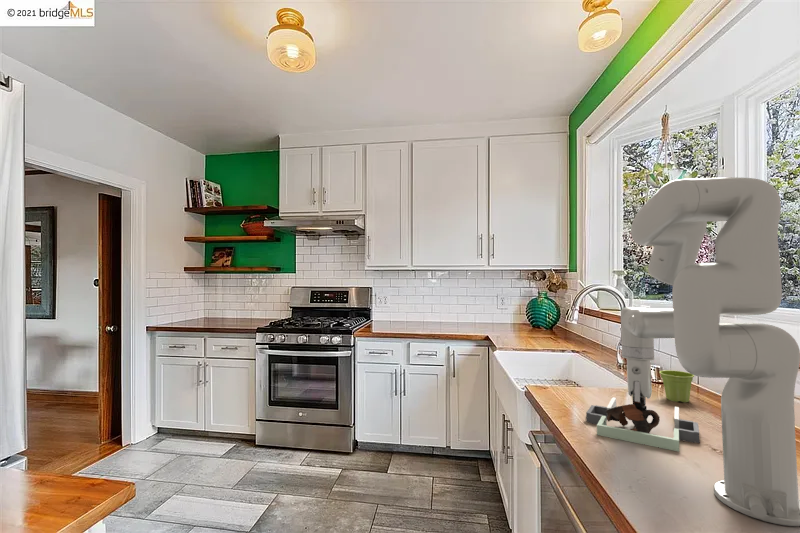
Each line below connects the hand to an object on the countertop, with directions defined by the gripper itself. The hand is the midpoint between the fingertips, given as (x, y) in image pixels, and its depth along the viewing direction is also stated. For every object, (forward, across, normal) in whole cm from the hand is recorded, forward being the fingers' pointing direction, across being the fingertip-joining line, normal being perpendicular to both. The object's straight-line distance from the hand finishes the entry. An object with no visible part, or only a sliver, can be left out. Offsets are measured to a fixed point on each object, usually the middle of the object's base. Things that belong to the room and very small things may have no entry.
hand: (639, 420), depth 104 cm
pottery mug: (+2, -6, +1) cm, 7 cm away
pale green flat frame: (+2, +1, 0) cm, 2 cm away
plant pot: (+2, +33, -8) cm, 34 cm away
